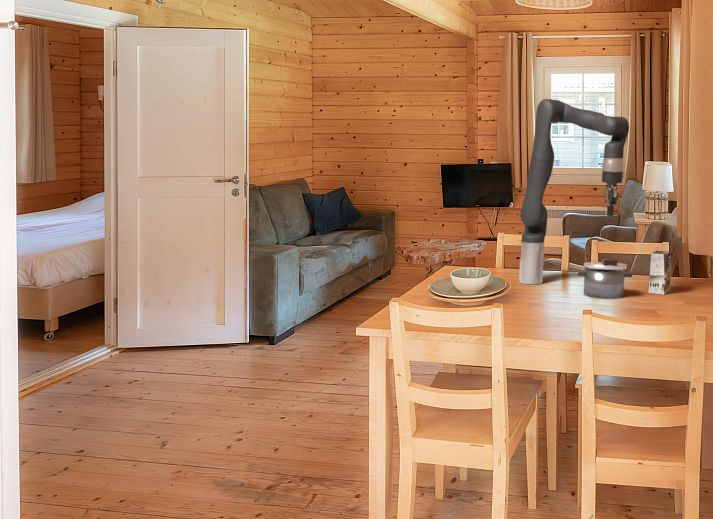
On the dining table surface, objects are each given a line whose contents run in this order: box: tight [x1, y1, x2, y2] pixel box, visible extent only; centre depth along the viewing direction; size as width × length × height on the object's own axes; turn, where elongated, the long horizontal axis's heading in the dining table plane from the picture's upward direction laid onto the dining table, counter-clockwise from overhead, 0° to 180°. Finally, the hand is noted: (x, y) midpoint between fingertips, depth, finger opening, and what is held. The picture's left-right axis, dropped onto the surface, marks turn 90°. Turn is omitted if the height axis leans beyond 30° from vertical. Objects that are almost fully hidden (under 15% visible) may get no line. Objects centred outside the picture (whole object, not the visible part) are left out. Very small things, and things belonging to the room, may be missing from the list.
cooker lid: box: [583, 258, 628, 270], centre depth 353 cm, size 16×16×4 cm
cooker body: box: [576, 268, 633, 300], centre depth 355 cm, size 21×17×10 cm
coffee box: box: [648, 250, 673, 295], centre depth 361 cm, size 9×6×16 cm
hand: (609, 215), depth 347 cm, fingers closed
